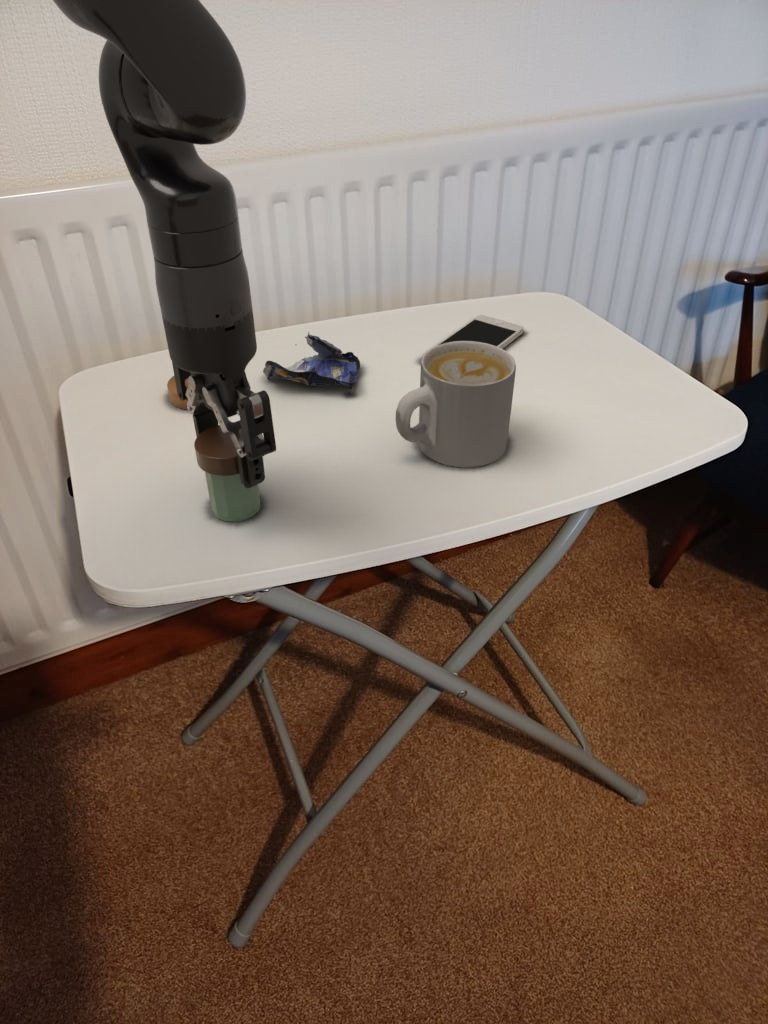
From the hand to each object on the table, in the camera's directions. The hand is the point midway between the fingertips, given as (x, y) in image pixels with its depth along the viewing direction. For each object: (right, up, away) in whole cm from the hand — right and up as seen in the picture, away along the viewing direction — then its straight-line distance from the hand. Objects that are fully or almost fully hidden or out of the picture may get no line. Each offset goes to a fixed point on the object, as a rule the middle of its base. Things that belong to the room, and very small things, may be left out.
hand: (231, 463), depth 76 cm
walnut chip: (0, +1, 0) cm, 1 cm away
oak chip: (-8, +10, +20) cm, 24 cm away
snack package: (+6, +12, +24) cm, 27 cm away
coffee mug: (+22, +3, +12) cm, 25 cm away
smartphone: (+27, +18, +31) cm, 45 cm away
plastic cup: (0, -4, +3) cm, 5 cm away
